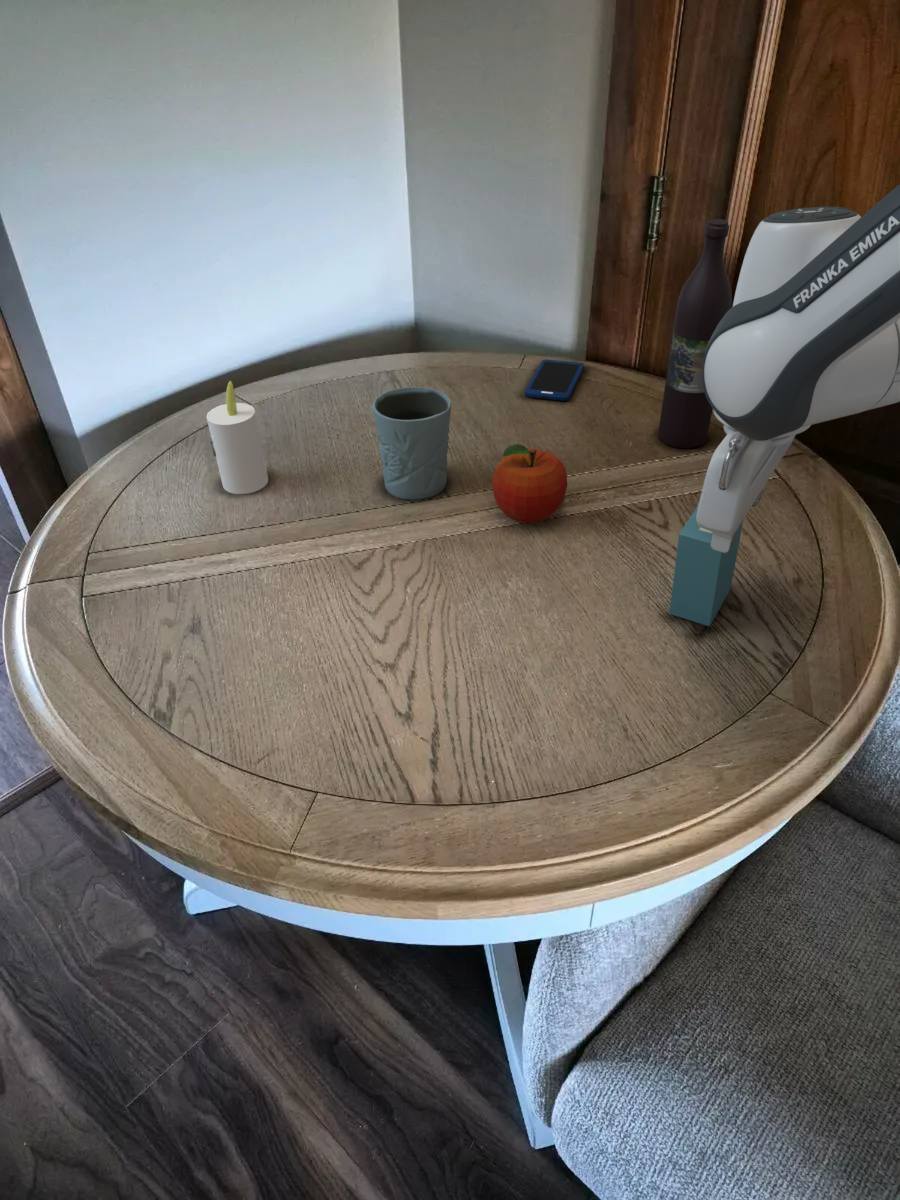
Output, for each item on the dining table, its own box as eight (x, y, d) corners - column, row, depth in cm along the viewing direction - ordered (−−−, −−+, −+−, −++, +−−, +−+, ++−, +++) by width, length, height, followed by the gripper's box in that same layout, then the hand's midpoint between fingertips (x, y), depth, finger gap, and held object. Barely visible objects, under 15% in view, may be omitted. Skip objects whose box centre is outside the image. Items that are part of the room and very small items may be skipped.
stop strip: (728, 587, 94) (729, 583, 94) (698, 637, 88) (699, 633, 87) (723, 585, 94) (724, 581, 94) (692, 635, 88) (693, 631, 88)
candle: (219, 475, 117) (195, 375, 107) (265, 467, 118) (245, 368, 109) (223, 498, 112) (199, 395, 103) (271, 489, 114) (251, 387, 104)
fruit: (574, 528, 104) (580, 459, 98) (501, 538, 103) (502, 468, 96) (553, 489, 111) (557, 422, 105) (484, 498, 110) (484, 431, 104)
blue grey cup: (366, 493, 112) (358, 412, 104) (400, 458, 119) (394, 380, 111) (434, 508, 109) (430, 426, 101) (464, 472, 116) (463, 392, 108)
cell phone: (523, 396, 133) (523, 392, 133) (542, 362, 143) (543, 358, 143) (568, 402, 131) (568, 397, 131) (584, 366, 141) (585, 362, 141)
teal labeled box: (745, 507, 85) (703, 497, 87) (723, 545, 81) (678, 533, 83) (731, 588, 92) (691, 576, 94) (709, 626, 88) (669, 613, 90)
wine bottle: (648, 439, 121) (677, 223, 102) (674, 422, 125) (707, 210, 106) (690, 454, 117) (729, 233, 98) (715, 436, 121) (758, 220, 102)
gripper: (767, 456, 67) (734, 589, 76) (828, 364, 80) (794, 486, 89) (692, 437, 69) (669, 568, 78) (763, 351, 82) (736, 471, 91)
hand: (736, 524), depth 84 cm, fingers open, 8 cm apart
